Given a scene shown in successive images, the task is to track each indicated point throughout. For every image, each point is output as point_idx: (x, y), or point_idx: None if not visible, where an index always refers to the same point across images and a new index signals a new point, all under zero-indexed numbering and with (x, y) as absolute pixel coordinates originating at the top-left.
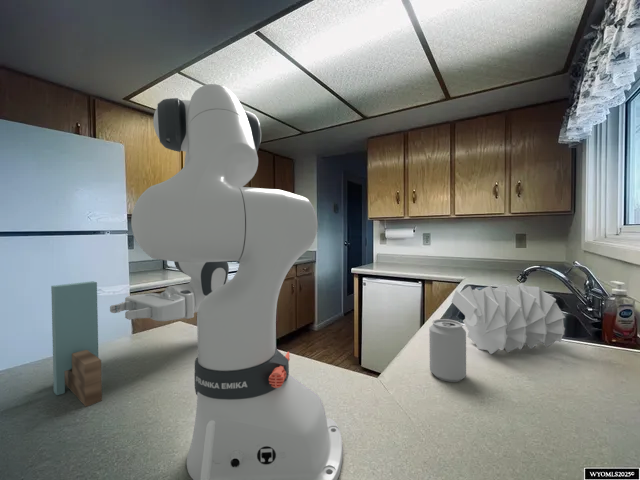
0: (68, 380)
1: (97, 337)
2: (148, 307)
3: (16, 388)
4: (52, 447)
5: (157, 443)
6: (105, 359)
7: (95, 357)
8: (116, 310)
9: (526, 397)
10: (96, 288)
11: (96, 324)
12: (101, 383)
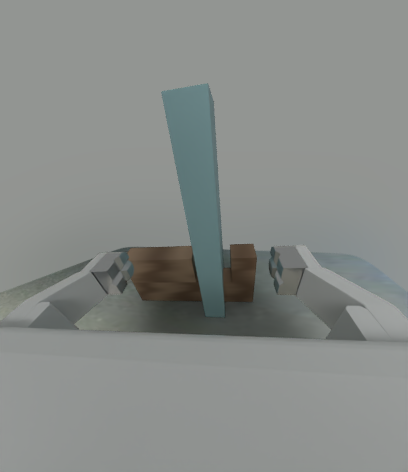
0: None
1: (194, 260)
2: (24, 325)
3: (271, 256)
4: None
5: (19, 304)
6: None
7: (138, 258)
8: (277, 274)
9: None
10: (167, 122)
11: (190, 234)
12: (135, 285)
